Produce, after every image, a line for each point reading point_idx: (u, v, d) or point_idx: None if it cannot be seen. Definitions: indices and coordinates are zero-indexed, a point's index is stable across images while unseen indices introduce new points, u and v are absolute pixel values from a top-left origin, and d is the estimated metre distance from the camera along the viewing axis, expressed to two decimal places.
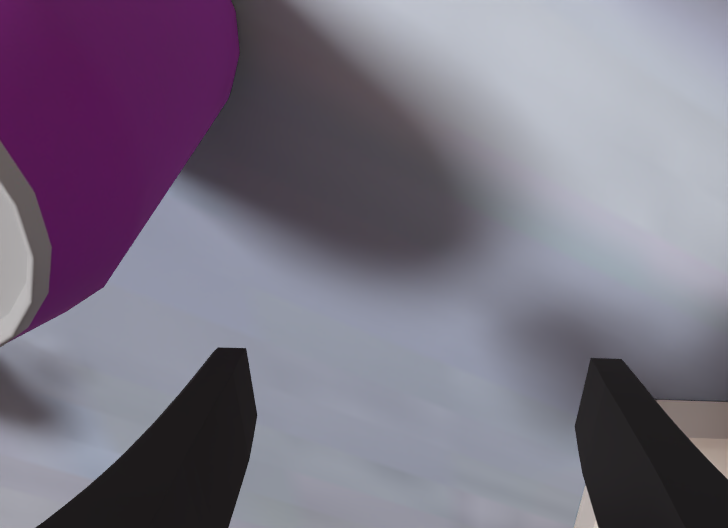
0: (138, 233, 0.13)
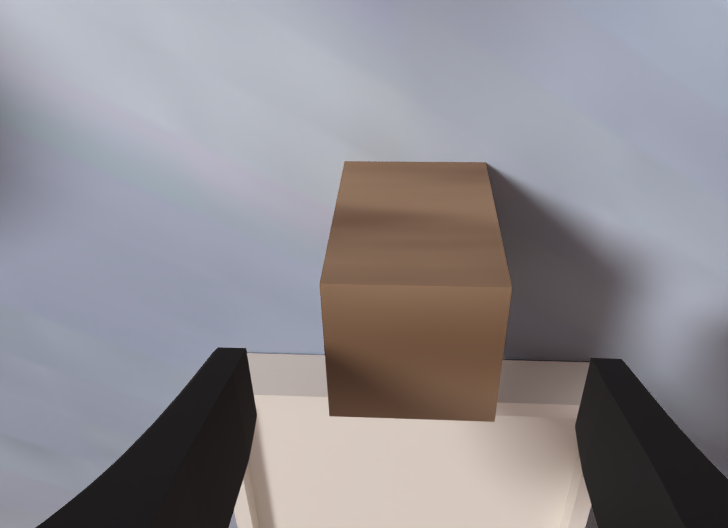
0: None
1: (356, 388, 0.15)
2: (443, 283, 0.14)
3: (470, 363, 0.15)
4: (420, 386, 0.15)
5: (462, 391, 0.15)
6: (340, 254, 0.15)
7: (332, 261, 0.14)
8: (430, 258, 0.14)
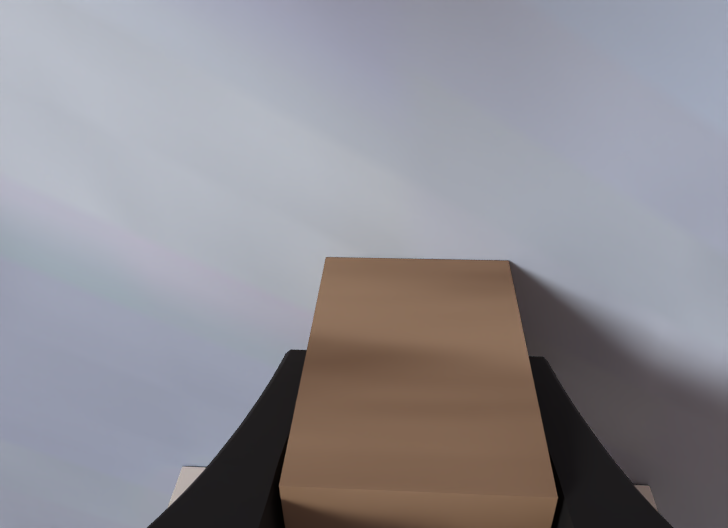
0: None
1: None
2: (458, 486, 0.09)
3: None
4: None
5: None
6: (312, 427, 0.10)
7: (300, 440, 0.10)
8: (438, 435, 0.10)
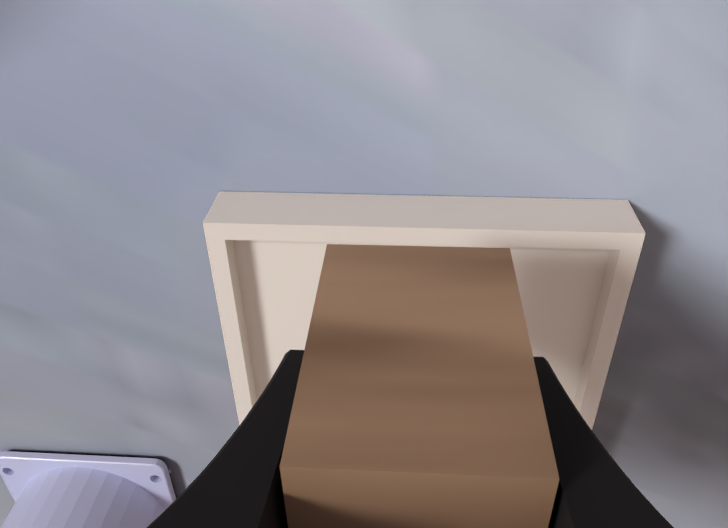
0: None
1: None
2: (458, 467, 0.09)
3: None
4: None
5: None
6: (312, 409, 0.10)
7: (300, 422, 0.10)
8: (438, 418, 0.10)
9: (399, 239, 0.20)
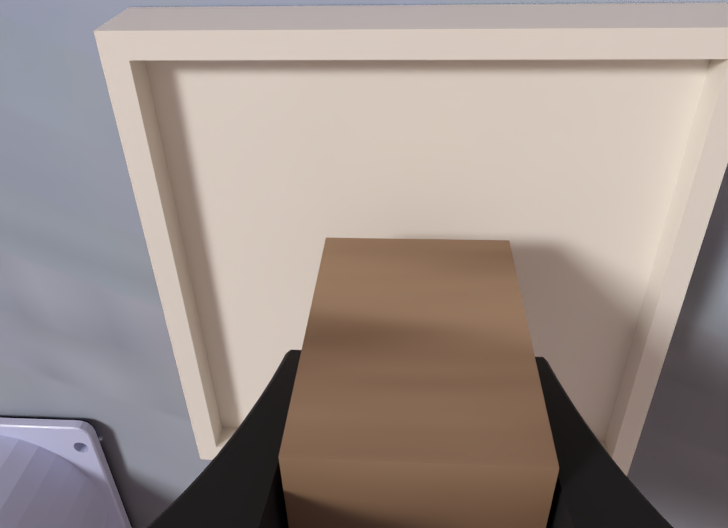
0: None
1: None
2: (458, 457, 0.09)
3: None
4: None
5: None
6: (311, 400, 0.10)
7: (299, 413, 0.10)
8: (438, 408, 0.10)
9: (390, 51, 0.13)
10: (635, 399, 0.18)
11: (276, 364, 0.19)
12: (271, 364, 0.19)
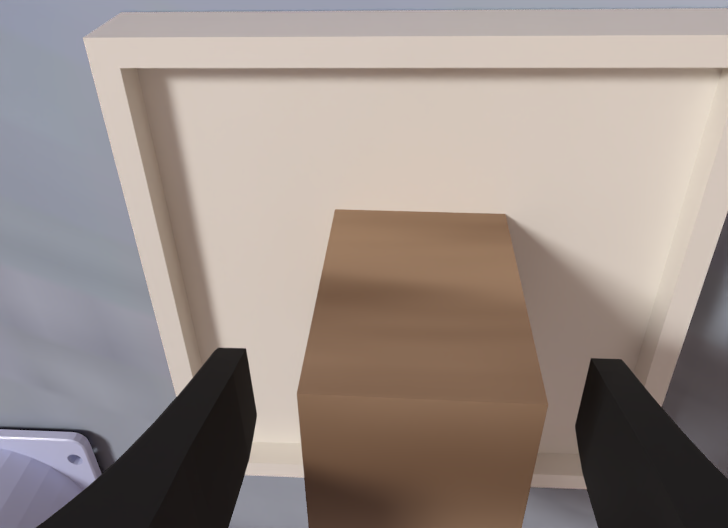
0: None
1: (343, 510, 0.12)
2: (458, 395, 0.10)
3: (488, 487, 0.11)
4: (424, 510, 0.12)
5: (477, 517, 0.12)
6: (325, 347, 0.11)
7: (314, 358, 0.11)
8: (440, 355, 0.11)
9: (391, 59, 0.13)
10: None
11: (274, 377, 0.19)
12: (269, 377, 0.19)
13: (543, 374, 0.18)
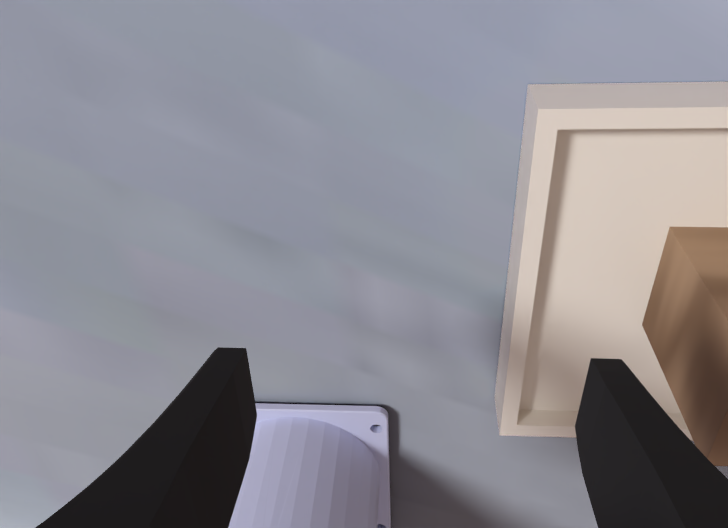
0: None
1: None
2: None
3: None
4: None
5: None
6: None
7: None
8: None
9: None
10: None
11: (578, 357, 0.24)
12: (573, 356, 0.24)
13: None
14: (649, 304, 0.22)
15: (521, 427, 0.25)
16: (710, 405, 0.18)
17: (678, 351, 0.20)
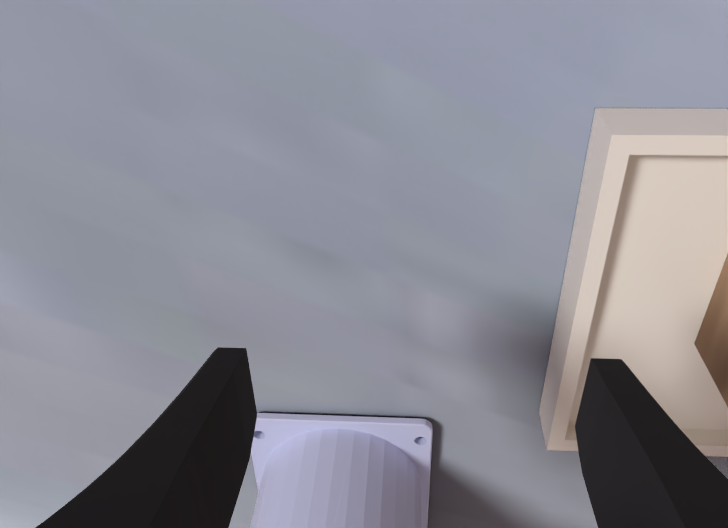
0: None
1: None
2: None
3: None
4: None
5: None
6: None
7: None
8: None
9: None
10: None
11: None
12: None
13: None
14: (703, 324, 0.22)
15: (569, 442, 0.25)
16: None
17: None
